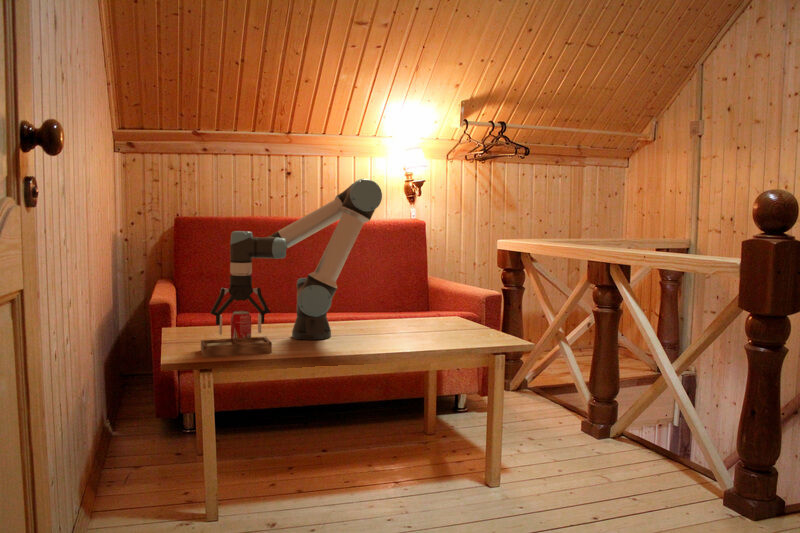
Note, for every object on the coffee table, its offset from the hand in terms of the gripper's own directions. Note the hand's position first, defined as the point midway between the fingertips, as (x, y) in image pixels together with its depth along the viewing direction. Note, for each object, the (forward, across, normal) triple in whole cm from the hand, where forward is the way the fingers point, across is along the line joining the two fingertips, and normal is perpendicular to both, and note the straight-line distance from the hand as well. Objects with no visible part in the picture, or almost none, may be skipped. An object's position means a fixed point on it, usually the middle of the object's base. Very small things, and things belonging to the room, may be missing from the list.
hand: (240, 333), depth 203 cm
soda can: (+4, 0, 0) cm, 5 cm away
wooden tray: (+4, +3, +10) cm, 11 cm away
